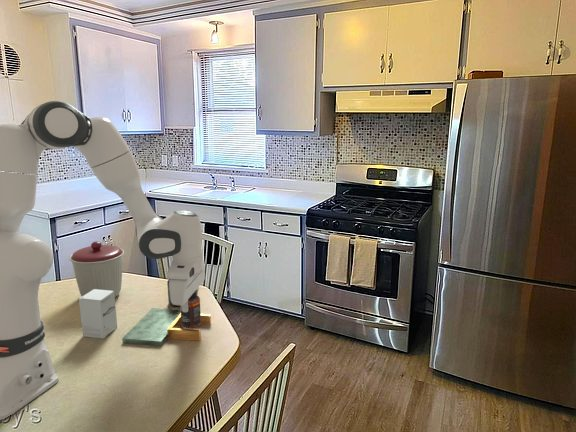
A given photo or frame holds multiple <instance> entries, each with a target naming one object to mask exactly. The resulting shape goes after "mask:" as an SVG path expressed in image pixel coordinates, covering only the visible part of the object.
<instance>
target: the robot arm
mask: <svg viewBox="0 0 576 432" xmlns="http://www.w3.org/2000/svg"><path fill="white" fill-rule="evenodd" d="M65 148H66V149H67V148H75V149H76V150H78V151H79V152H80V153H81V154H82V156H84V158H85V160H86V162H87V164H88V166H89V168H90V169H91V170H92V173H93V174H94V176H95V177H96V179H97V180H98V181H99V182H100V184H101V185H103V187H104V188H105V189H106V190H108V191H110V192H112V193H114V194H116V195H117V196H118V197H119V198H120V199H121V201H122V202H123V204H124V205H125V207H126V208H127V210H128V212H129V214H130V216H131V217H132V219H133V221H134V225H135V235H136V238H137V242H138V248H139V251H140V253H142V255H143V256H145V258H148V259H150V260H160V259H161V260H162V259H165V258H168V257H172V261H171V263H170V266H169V268H168V270H167V273H166V277H167V279H168V280H169V279H170V281H169V291H170V300H171V303H172V304H173V305H181V306H182V311H183V312H188V310H189V309H190V308H189V305H188V299H189V298H190V297H191V295H192V294H193V293H194V292H195V291H196V292H197V296H198V294H199V291H200V290H199V289H200V286H201V285H202V283H203V282H204V281H205V279H206V273H205V271H206V270H205V262H204V252H203V249H202V242H203V233H202V232H203V230H202V223H201V220H200V217H199V215H197V213H195V212H193V211H190V210H184V209H178V210H174V211H172V213H171V214H169V215H168V216H167V217H165V218H163V217H161V216H160V215H159V214H158V213H157V212H155V210H154V208H153V207H152V206H151V205H152V204H150V201H149V200H148V198H147V196H146V195H145V193H144V190H143V188H142V184H141V180H140V179H141V178H140V177H141V176H140V171H139V170H140V169H139V167H138V164H137V162H136V159H135V157H134V154H133V153H132V150H131V149H130V147H129V145H128V143H127V142H126V140H125V139H124V137H123V135H122V134H121V133H120V131H119V129H118V128H117V127H116V126H115V125H114V124H113V122H112V121H111V120H110V119H109V118H106V117H103V116H93V117H89V116H87V115H85V114H84V113H83V112H81V111H80V110H78V109H77V108H76V107H74V106H73V105H71V104H69V103H68V102H64V101H61V100H60V101H59V100H52V101H47V102H44V103H42V104H39V105H38V106H36V107H35V108H33V109H32V110H31V111H30V113H29V114H28V115H26V117H25V119H24V120H22V122H21V123H20V124H12V123H3V124H0V421H1V420H5V418H6V417H8V416H9V417H11V416H12V415H13V414H15V413H17V411H19V410H21V409H22V408H24V407H25V406H26V405H27V404H29V403H30V402H32V401H33V400H34V399H36V398H38V397H39V396H40V395H42V394H43V393H44V392H46V391H47V390H49V389H50V388H51V387H53V386H54V385H56V384H57V383H58V382H59V379H60V378H59V376H58V375H57V373H56V367H55V366H54V364H53V361H52V359H51V358H52V357H51V354H50V351H49V348H48V346H47V344H46V341H45V336H46V334H45V327H44V323H43V321H42V320H41V313H40V305H39V289H40V284H41V281H42V279H43V278H44V277H46V276H47V274H48V273H49V271H51V268H52V266H53V262H54V252H53V250H52V248H51V246H50V245H49V244H48V243H47V242H45V241H43V240H42V239H39V238H38V237H35V236H34V235H31V234H27V233H20V232H19V231H20V230H19V229H20V226H21V223H22V222H23V219H24V218H25V216H26V215H27V214H28V213H29V212H31V211H32V210H33V209H34V207H35V205H36V195H37V194H36V193H37V183H38V171H39V169H38V167H39V166H38V165H39V160H40V156H41V154H42V153H44V151H46V150H47V151H49V150H50V151H51V150H63V149H65ZM10 415H11V416H10ZM9 417H8V418H9ZM6 419H7V418H6Z"/></svg>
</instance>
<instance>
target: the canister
mask: <svg viewBox="0 0 576 432" xmlns="http://www.w3.org/2000/svg"><path fill="white" fill-rule="evenodd" d="M124 254H125V250H124V249H123V248H121V247H118V246H116V245H112V244H102V243H101V241H98V240H97V241H93V242H92V243H91V244H90V246H85V247H83V248H80V249H78V250H76V251H74V252H73V253H72V254H70V255H69V256H68V257H69V258H68V260H69V261H70V262H71V264H72V268H73V272H74V276H75V279H76V284H77V287H78V291H79V294H80V297H82V296H84V295H85V294H87V293H89V292H90V291H92V290H93V289H98V290H110V291H114V295H115V298H116V297H118V295H119V294H120V292H121V290H122V282H123V279H122V278H123V256H124Z"/></svg>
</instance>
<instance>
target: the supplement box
mask: <svg viewBox="0 0 576 432" xmlns="http://www.w3.org/2000/svg"><path fill="white" fill-rule="evenodd" d="M78 305H79V311H80V312H79V313H80V314H79V315H80V322H81V330H82V331H81V332H82V337H86V338H87V337H88V338H95V339H103V340H105V338H106V337H107V336H108V335H110V334H111V333H112V332H113V331H114V330H116V329H117V328H118V320H117V311H116V310H117V307H116V297H115V295H114V291H110V290H98V289H93V290H92V291H90V292H89V293H87V294H85V295H84V296H80V297H79V298H78Z"/></svg>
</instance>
